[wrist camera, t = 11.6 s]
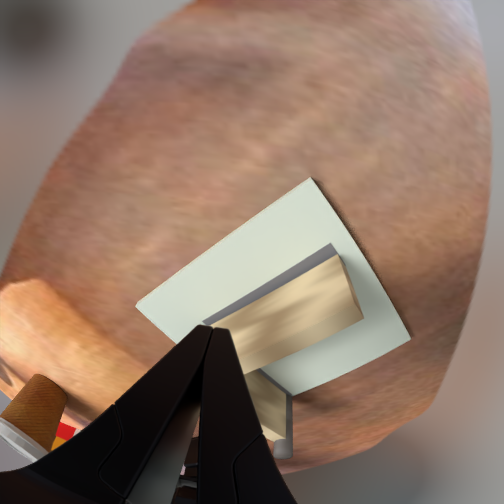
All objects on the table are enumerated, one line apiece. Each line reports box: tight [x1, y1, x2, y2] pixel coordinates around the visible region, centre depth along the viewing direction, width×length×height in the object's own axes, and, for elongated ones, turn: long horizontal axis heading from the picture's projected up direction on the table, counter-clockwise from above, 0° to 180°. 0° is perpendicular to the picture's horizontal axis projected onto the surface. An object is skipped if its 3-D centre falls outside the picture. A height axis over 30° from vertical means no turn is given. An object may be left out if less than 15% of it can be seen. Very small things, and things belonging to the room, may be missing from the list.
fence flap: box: [210, 254, 364, 374], centre depth 18 cm, size 13×2×6 cm, turn 127°
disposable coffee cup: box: [0, 374, 67, 462], centre depth 27 cm, size 10×10×12 cm
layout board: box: [135, 177, 411, 396], centre depth 22 cm, size 16×16×1 cm
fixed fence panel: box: [244, 370, 293, 459], centre depth 22 cm, size 10×2×7 cm, turn 38°
